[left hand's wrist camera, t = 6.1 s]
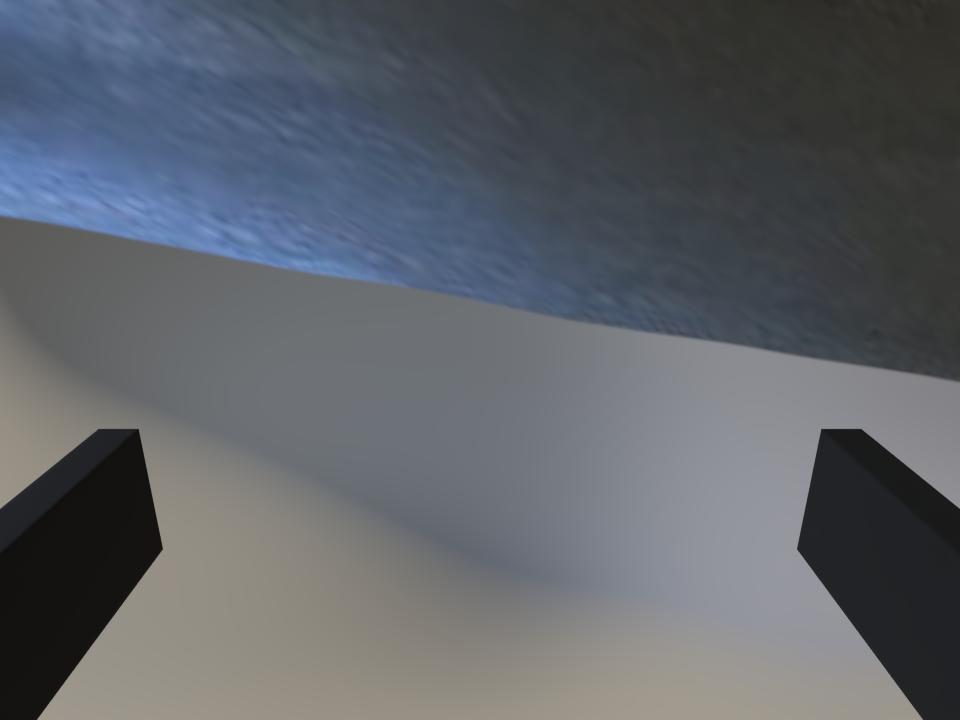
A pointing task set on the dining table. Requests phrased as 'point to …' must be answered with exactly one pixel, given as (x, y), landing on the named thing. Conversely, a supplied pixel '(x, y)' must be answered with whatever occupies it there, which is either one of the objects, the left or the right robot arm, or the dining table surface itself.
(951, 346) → the dining table surface
